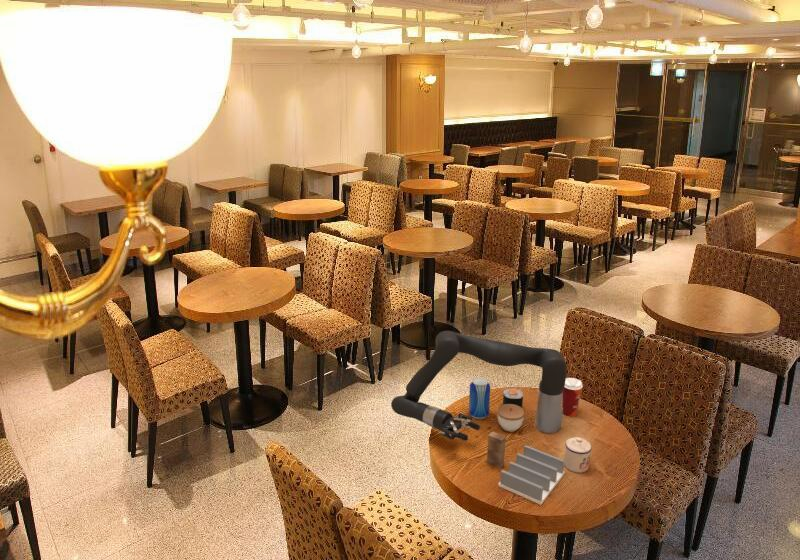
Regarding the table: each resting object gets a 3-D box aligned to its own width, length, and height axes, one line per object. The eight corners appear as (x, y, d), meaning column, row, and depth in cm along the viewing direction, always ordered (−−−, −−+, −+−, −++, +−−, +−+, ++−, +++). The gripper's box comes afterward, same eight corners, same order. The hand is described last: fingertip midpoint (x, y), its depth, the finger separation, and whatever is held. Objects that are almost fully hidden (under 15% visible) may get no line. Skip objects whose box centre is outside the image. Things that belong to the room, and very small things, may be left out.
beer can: (489, 420, 244) (491, 386, 238) (469, 420, 244) (471, 386, 239) (487, 409, 252) (489, 376, 246) (467, 409, 252) (469, 376, 247)
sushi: (500, 403, 256) (501, 387, 254) (519, 402, 257) (520, 386, 254) (504, 413, 249) (505, 397, 246) (524, 412, 249) (525, 396, 247)
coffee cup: (580, 419, 244) (583, 387, 239) (559, 417, 246) (563, 385, 241) (578, 408, 252) (582, 377, 247) (558, 406, 254) (561, 376, 249)
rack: (498, 485, 205) (499, 471, 203) (523, 457, 220) (524, 444, 218) (541, 505, 196) (542, 490, 194) (564, 474, 211) (566, 460, 209)
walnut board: (486, 462, 217) (488, 435, 213) (490, 458, 220) (492, 431, 216) (500, 468, 214) (501, 440, 210) (503, 464, 216) (505, 436, 212)
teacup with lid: (582, 476, 210) (586, 449, 206) (559, 466, 215) (561, 439, 211) (596, 460, 218) (599, 434, 214) (573, 451, 224) (576, 425, 220)
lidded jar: (521, 437, 233) (522, 416, 230) (494, 432, 236) (495, 412, 233) (524, 422, 242) (526, 402, 239) (498, 418, 246) (499, 398, 242)
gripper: (427, 417, 222) (464, 433, 213) (447, 402, 232) (483, 415, 223) (426, 434, 224) (463, 450, 215) (446, 418, 235) (482, 432, 226)
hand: (473, 432), depth 219 cm, fingers open, 8 cm apart
